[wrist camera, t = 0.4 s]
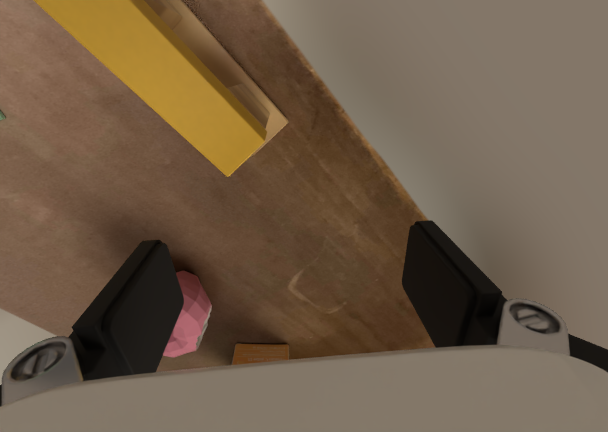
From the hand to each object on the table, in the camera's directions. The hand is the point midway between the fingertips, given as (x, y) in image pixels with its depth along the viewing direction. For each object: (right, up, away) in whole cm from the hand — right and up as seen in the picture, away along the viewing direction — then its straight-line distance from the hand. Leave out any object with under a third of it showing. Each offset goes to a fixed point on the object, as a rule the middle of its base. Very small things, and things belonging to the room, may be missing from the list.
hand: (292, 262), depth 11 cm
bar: (-8, +11, +6) cm, 15 cm away
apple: (-15, -7, +25) cm, 30 cm away
